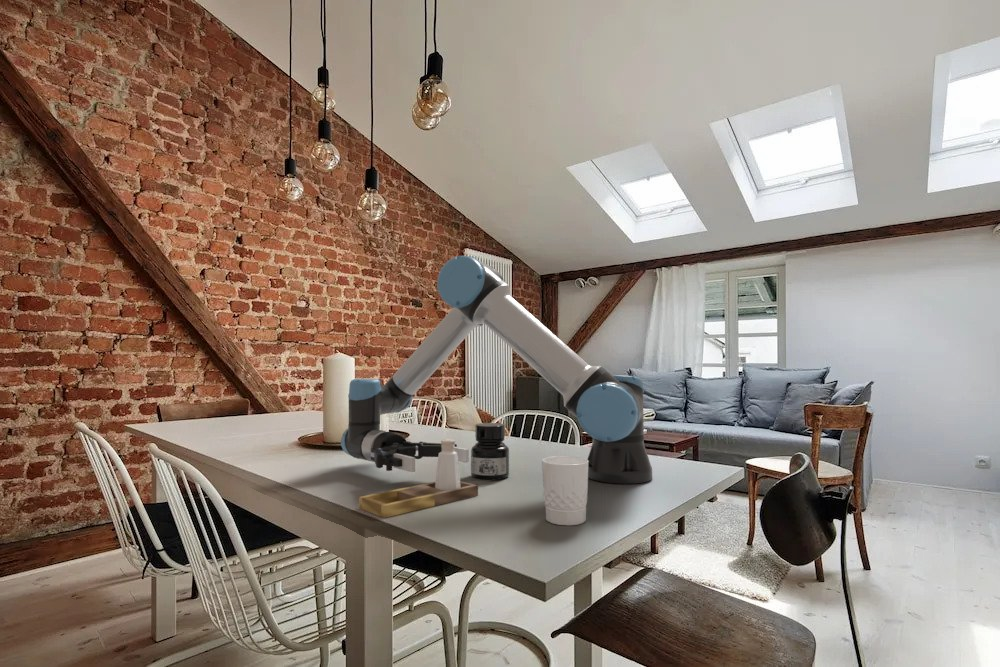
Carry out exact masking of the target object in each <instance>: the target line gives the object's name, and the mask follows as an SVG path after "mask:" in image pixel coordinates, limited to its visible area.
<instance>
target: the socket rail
mask: <svg viewBox="0 0 1000 667" xmlns="http://www.w3.org/2000/svg"><path fill="white" fill-rule="evenodd" d="M435 483H436V481H432V482H427V483H422V484H417V485H412V486H407V487H402V488H396V489H393V490H392V489H391V490H386V491H382V492H377V493H372V494H366V495H363V496H359V497H358V500H359V501H358V504H359V505H358V508H359V509H361V510H364V511H366V512H368V513H371V514H374V515H376V516H378V517H381V518H384V519H385V518H389V517H393V516H398V515H402V514H406V513H410V512H415V511H418V510H423V509H427V508H432V507H436V506H439V505H443V504H448V503H452V502H453V503H454V502H457V501H459V500H460V501H461V500H465V499H468V498H472V497H473V498H474V497H477V496H479V485H477V484H474V483H470V482H466V481H463V480H460V485H461V488H456V489H452V490H447V491H444V490H440V489H437V488H435Z"/></svg>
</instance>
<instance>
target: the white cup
mask: <svg viewBox="0 0 1000 667" xmlns="http://www.w3.org/2000/svg"><path fill="white" fill-rule="evenodd" d="M587 459H588V458H584V457H580V456H579V457H578V456H572V455H571V456H570V455H556V456H555V455H554V456H547V457H544V458H542V459H541V466H542V467H541V470H542V486H543V499H544V500H543V502H544V506H545V507H544V508H545V520H546V521H547V522H549V523H551V524H554V525H558V526H577V525H581V524H584V523H585V522H586V520H587V504H588V493H589V492H588V490H589V478H588V465H589V461H588V460H587Z"/></svg>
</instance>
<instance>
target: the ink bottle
mask: <svg viewBox="0 0 1000 667" xmlns="http://www.w3.org/2000/svg"><path fill="white" fill-rule="evenodd" d="M505 425H506V424H504V423H499V422H497V423H496V422H482V423H476V424H475V426H474V427H475V434H474V435H475V436H474V437H475V441H476V443H475V444H474V445H473V446H472V447H471V449H470V476H471V478H473V479H476V480H482V481H483V480H485V481H495V480H503V479H506V478H508V477H509V476H510V450H509V447H508V445H506V443H505V442H504V441H505V437H506V436H505V432H506V431H505V428H506V426H505Z"/></svg>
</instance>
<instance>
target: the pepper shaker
mask: <svg viewBox="0 0 1000 667" xmlns="http://www.w3.org/2000/svg"><path fill="white" fill-rule="evenodd" d="M440 443H441V444H442V445H441V448H442V452H440V453H439V455H438V457H437V466H436V474H435V482H436V483H435V488H437V489H440V490H444V491H447V490H452V489H456V488H461V485H460V481H461V478H460V465H459V461H458V455H457V453H456V452H455V451H454V448H455V445H454V444H456V441H455V439H452V438H446V439H441V441H440Z"/></svg>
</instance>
